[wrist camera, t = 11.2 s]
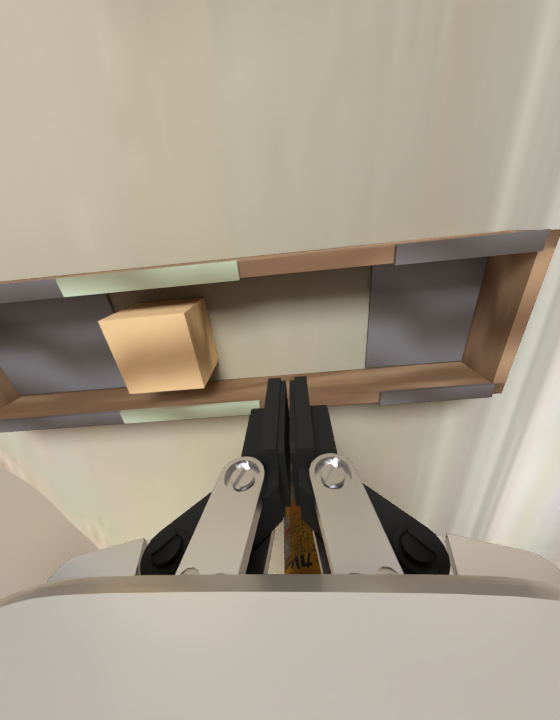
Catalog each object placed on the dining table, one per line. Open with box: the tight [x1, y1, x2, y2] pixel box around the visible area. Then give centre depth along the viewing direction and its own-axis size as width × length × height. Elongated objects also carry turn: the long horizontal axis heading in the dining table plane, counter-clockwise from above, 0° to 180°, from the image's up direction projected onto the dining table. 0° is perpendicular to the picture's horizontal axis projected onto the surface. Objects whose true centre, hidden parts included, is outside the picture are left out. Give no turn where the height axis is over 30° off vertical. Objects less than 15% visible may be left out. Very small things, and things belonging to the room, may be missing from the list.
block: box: [98, 297, 218, 394], centre depth 20 cm, size 6×6×5 cm
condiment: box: [284, 467, 321, 574], centre depth 27 cm, size 7×8×12 cm
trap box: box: [0, 229, 560, 432], centre depth 20 cm, size 12×46×4 cm, turn 95°
